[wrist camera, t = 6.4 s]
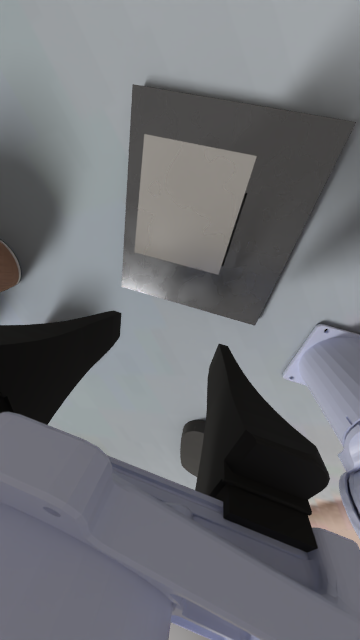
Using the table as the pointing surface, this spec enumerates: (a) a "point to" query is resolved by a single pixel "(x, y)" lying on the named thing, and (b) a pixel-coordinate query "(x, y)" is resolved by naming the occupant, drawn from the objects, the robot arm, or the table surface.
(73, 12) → the table surface
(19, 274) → the coffee cup
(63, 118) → the table surface
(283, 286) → the table surface
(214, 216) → the column
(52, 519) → the robot arm
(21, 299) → the table surface
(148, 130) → the stand
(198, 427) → the media streaming box
